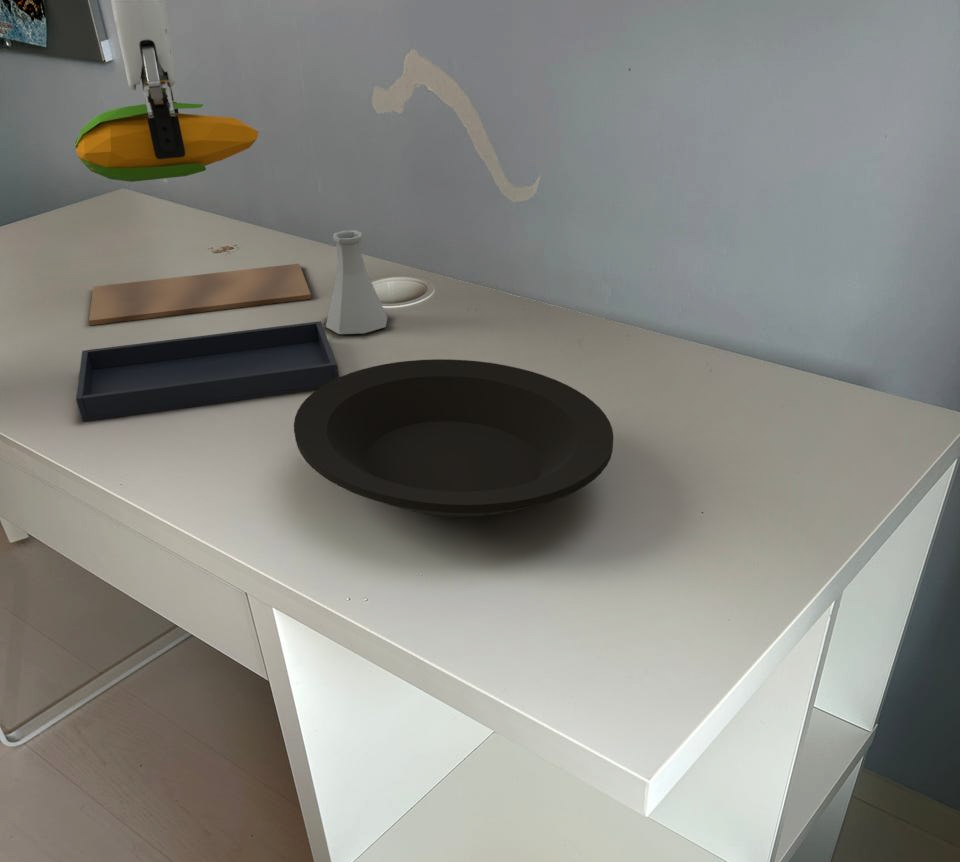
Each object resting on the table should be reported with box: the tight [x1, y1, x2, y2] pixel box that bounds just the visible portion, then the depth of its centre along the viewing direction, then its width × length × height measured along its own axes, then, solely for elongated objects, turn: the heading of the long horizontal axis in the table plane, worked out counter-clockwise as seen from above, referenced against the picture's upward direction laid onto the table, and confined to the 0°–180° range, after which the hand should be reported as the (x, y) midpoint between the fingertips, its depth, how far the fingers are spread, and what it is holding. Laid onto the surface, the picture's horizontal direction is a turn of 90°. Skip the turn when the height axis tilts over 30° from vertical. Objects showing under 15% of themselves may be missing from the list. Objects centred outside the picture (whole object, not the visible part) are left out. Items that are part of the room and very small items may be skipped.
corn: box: [74, 102, 260, 183], centre depth 110 cm, size 7×8×20 cm
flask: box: [325, 229, 388, 335], centre depth 110 cm, size 7×7×10 cm
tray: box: [75, 320, 340, 423], centre depth 102 cm, size 25×12×2 cm, turn 105°
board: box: [88, 263, 312, 326], centre depth 122 cm, size 26×12×1 cm, turn 105°
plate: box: [293, 358, 614, 518], centre depth 82 cm, size 28×24×6 cm
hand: (170, 148), depth 111 cm, fingers closed on corn, 6 cm apart
